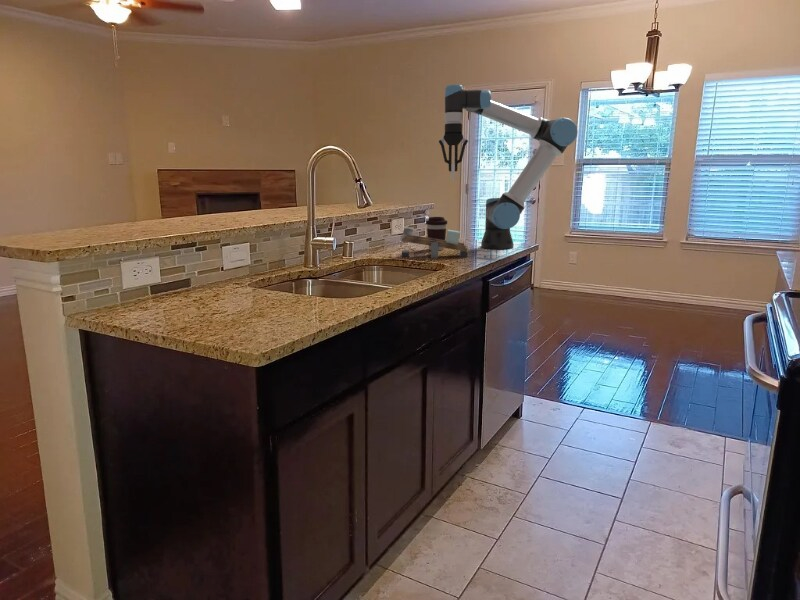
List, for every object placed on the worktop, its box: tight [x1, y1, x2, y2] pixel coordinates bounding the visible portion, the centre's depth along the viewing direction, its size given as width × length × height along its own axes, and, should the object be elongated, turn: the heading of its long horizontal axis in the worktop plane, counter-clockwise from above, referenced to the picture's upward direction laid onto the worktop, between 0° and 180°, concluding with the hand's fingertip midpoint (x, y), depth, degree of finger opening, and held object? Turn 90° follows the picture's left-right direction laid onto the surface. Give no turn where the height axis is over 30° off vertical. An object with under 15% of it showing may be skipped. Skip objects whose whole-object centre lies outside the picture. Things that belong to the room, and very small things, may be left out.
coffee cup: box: [425, 216, 448, 251], centre depth 261 cm, size 10×10×15 cm
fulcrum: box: [401, 242, 468, 259], centre depth 242 cm, size 28×12×7 cm, turn 87°
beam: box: [401, 226, 468, 252], centre depth 241 cm, size 28×9×6 cm, turn 87°
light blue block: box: [445, 229, 461, 244], centre depth 241 cm, size 5×5×6 cm
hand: (452, 179), depth 247 cm, fingers closed
